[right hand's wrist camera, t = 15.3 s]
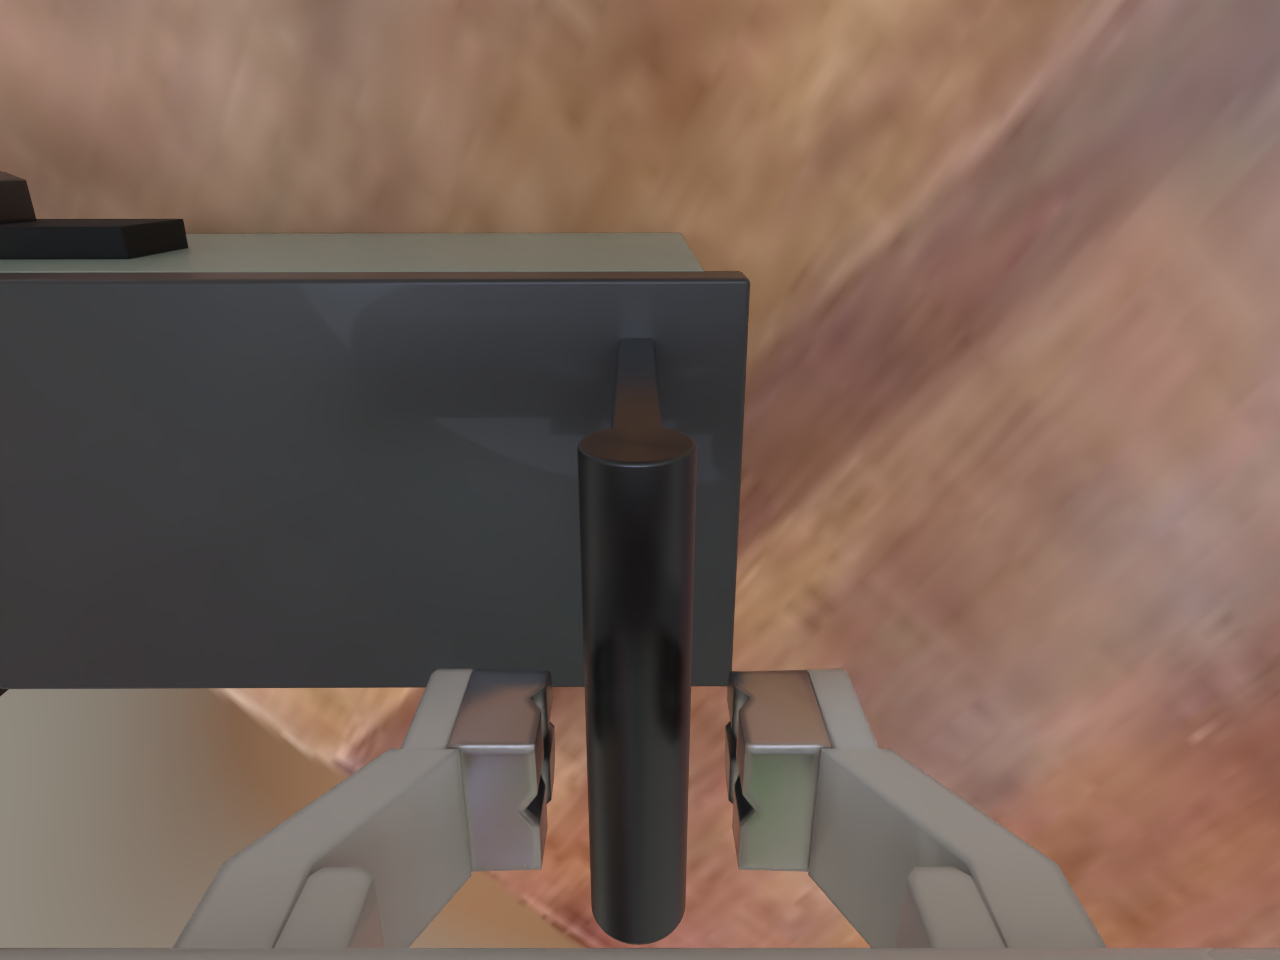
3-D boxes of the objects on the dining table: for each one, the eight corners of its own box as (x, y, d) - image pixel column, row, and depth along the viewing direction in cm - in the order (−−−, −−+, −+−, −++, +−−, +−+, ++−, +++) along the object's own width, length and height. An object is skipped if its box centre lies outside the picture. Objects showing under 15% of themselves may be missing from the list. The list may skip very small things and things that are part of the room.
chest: (682, 232, 26) (706, 270, 17) (677, 504, 29) (695, 657, 20) (166, 233, 26) (-89, 271, 17) (222, 505, 29) (36, 658, 20)
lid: (743, 270, 17) (843, 374, 9) (725, 657, 20) (787, 994, 12) (-91, 272, 17) (-789, 378, 8) (35, 659, 20) (-376, 1001, 12)
